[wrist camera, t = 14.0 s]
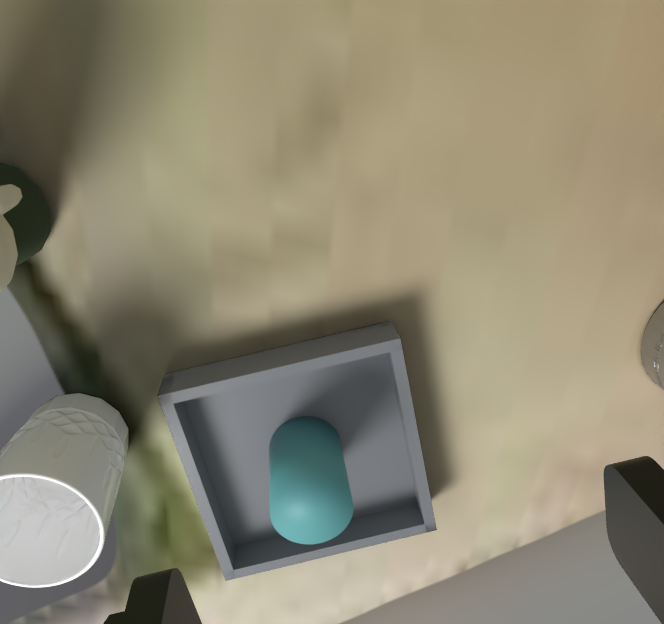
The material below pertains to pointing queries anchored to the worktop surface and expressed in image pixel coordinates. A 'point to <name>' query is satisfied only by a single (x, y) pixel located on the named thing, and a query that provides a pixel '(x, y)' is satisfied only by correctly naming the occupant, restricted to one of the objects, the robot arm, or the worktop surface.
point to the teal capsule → (308, 481)
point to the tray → (285, 404)
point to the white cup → (59, 490)
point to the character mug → (20, 221)
